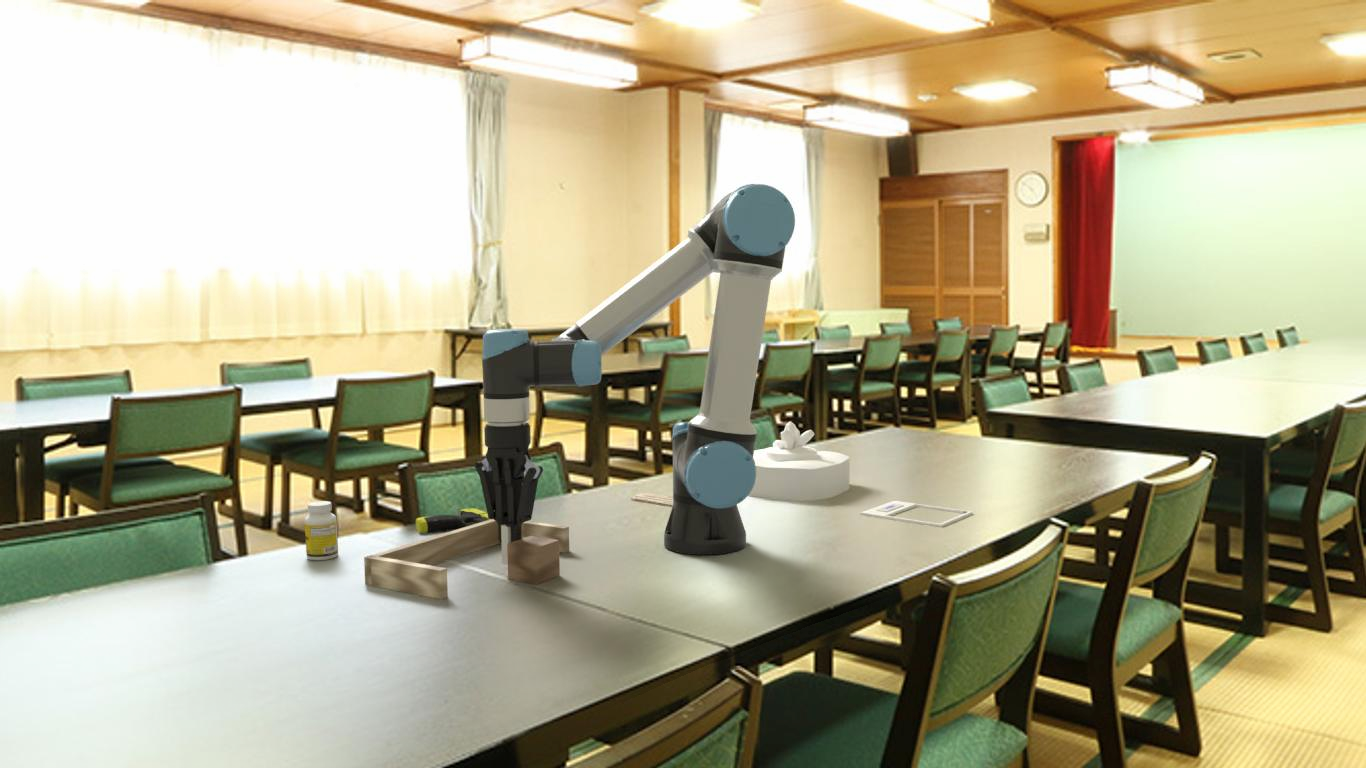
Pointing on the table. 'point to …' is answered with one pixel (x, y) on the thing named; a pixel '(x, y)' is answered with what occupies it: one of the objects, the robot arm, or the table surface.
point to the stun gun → (450, 521)
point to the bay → (443, 556)
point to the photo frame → (897, 507)
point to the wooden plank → (653, 499)
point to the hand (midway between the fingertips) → (510, 562)
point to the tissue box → (799, 469)
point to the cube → (533, 559)
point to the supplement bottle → (321, 531)
